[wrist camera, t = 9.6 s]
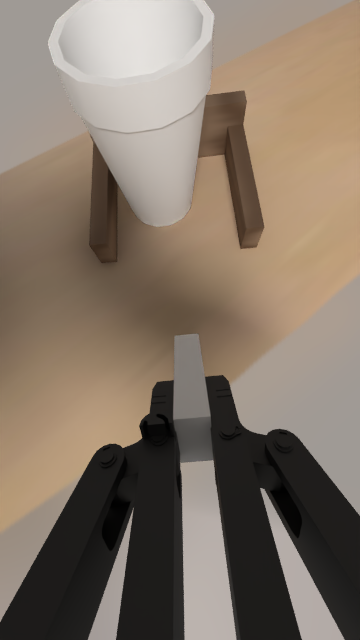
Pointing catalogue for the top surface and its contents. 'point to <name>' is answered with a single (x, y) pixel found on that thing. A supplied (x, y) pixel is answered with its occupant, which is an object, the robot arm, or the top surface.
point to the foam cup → (140, 93)
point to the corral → (216, 139)
